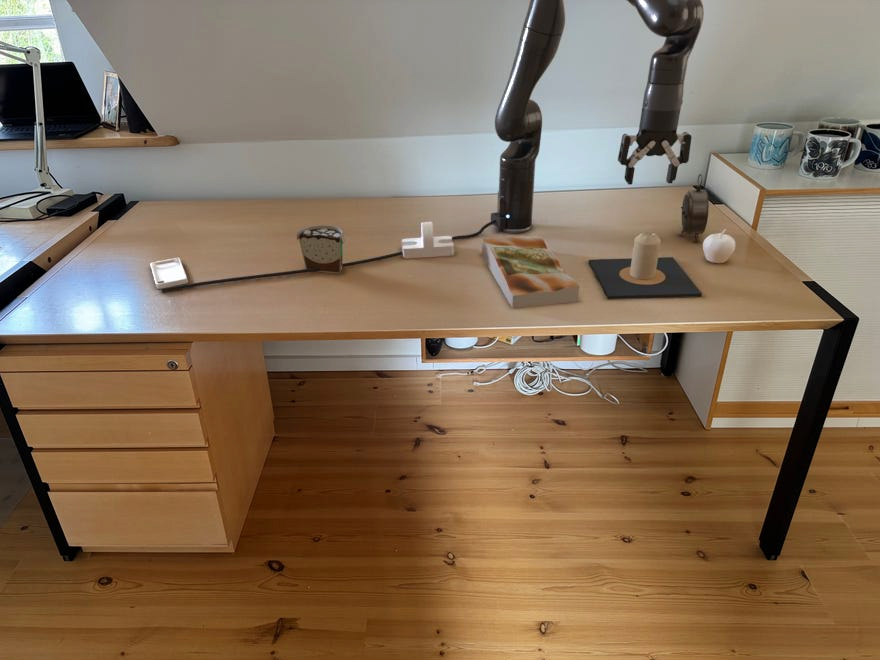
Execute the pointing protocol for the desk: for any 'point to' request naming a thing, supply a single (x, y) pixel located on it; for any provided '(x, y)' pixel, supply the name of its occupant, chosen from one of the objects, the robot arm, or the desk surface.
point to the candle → (645, 256)
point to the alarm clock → (695, 211)
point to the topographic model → (528, 271)
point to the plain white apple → (718, 247)
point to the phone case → (169, 273)
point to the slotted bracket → (427, 244)
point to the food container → (322, 248)
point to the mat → (624, 286)
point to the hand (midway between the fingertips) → (649, 183)
